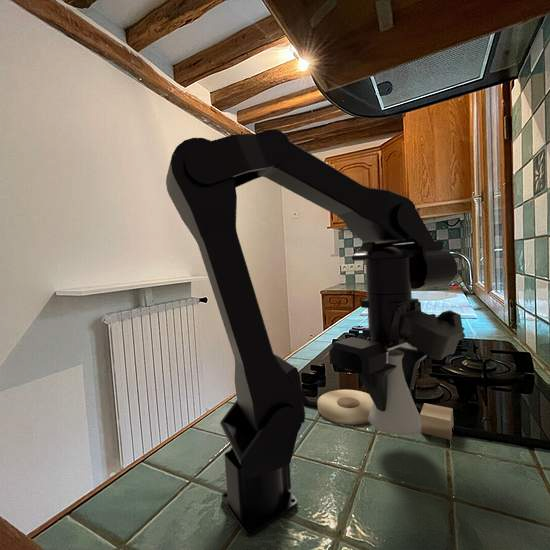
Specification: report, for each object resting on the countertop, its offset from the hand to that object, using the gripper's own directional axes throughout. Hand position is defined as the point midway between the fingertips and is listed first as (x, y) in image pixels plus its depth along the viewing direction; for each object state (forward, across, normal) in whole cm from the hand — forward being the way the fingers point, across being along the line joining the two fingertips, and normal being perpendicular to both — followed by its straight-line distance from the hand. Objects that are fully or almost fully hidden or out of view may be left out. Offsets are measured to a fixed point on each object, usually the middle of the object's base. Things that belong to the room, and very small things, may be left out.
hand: (393, 403), depth 42 cm
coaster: (+6, +4, +12) cm, 14 cm away
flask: (+3, 0, 0) cm, 3 cm away
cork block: (+7, +9, -1) cm, 11 cm away
